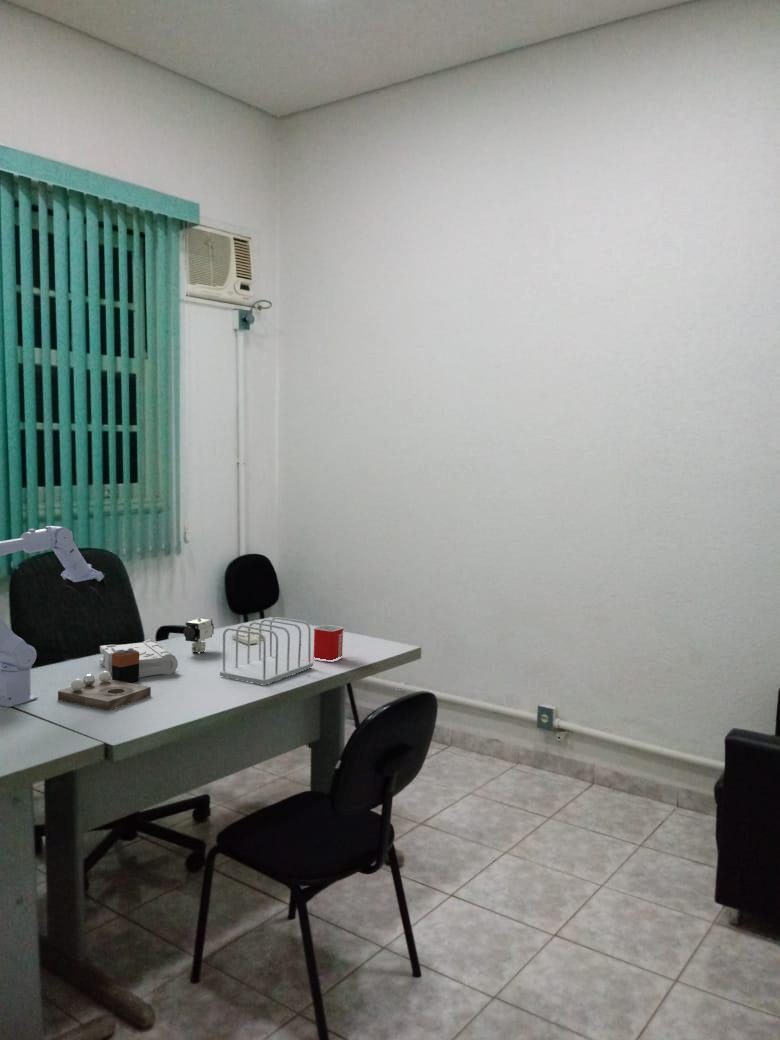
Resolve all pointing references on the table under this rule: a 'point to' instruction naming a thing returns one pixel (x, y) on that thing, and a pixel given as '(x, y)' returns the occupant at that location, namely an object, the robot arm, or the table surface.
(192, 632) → the pneumatic valve
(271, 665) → the file sorter
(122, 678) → the battery
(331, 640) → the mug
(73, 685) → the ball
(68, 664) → the table surface
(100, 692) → the hole plate
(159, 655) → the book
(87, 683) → the steel ball
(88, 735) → the table surface
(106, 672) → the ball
